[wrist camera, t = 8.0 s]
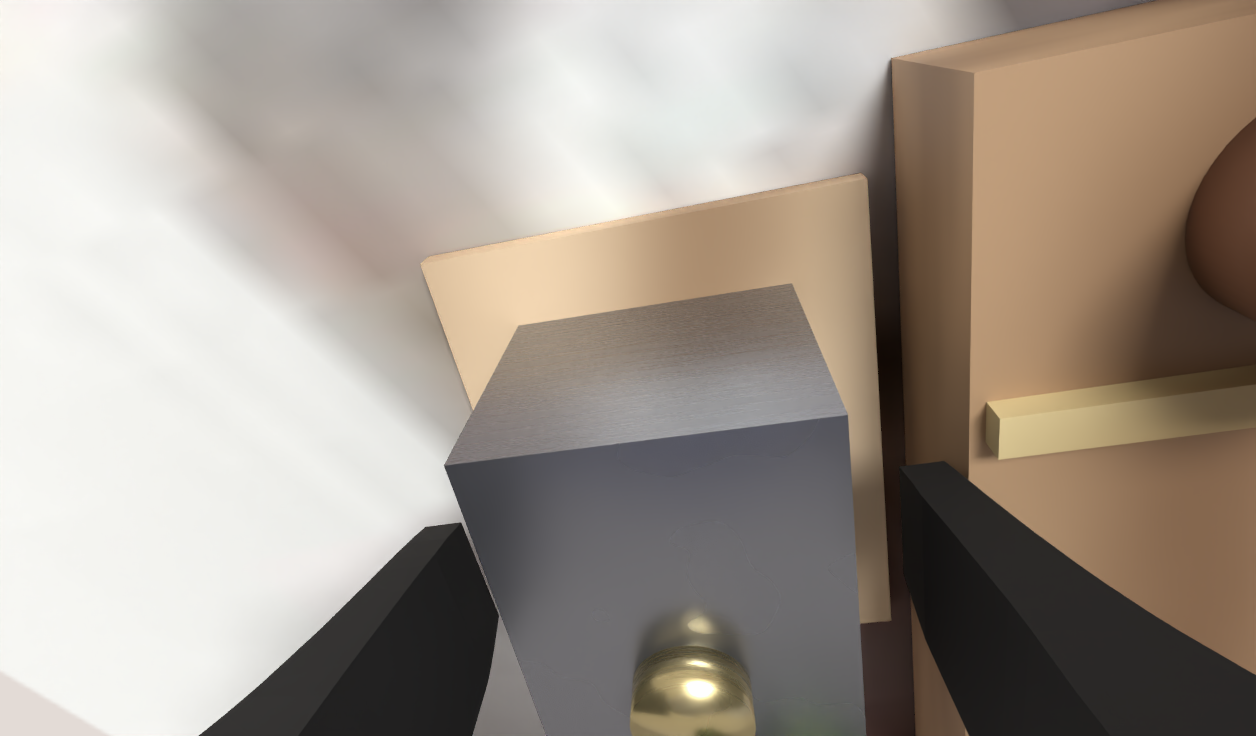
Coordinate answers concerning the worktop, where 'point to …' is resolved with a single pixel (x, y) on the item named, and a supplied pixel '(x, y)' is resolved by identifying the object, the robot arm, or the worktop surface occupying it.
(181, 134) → the worktop surface
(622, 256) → the cork trivet
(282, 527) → the worktop surface
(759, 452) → the grey block with knob
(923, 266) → the body
